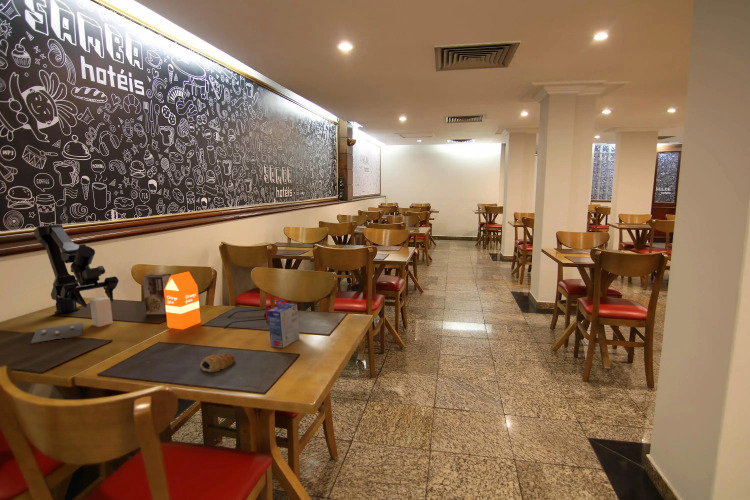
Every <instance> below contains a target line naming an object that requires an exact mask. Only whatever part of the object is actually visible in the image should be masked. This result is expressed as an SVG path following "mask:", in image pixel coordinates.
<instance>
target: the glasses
mask: <svg viewBox="0 0 750 500" xmlns="http://www.w3.org/2000/svg"><path fill="white" fill-rule="evenodd" d="M269 310H270V308H269V307H268V304H266V305H265V308H264V309H263V308H262V309H251V310H250V309H249V310H241V311H239V310H238V311H235V312H233V313H232V314H230V315H229V316H228V317H227V319H229V318H231V317H232V316H233V315H235V314H237V313H246V312H247V313H248V312H259V311H265V313H264V318H260V319H258V318H257V319H256V318H255V319H248V320H247V319H246V320H235V321H231V322H229V323H228V324H227V325H226V326H225V327H223V329H224V330H225V329H227V328H228V327H229V326H230V325H232V324H234V323H243V322H245V323H246V322H257V321H265V320H266V321H265V322H266V323H268V321H269V320H268V311H269Z"/></svg>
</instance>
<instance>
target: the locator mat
mask: <svg viewBox="0 0 750 500" xmlns="http://www.w3.org/2000/svg"><path fill="white" fill-rule="evenodd" d="M71 325H74V330H70V326H71ZM83 327H84V323H83V322H76V323H72V324H71V323H70V324H65V325H58V326H52V327H45V328H40V329H36V331H35V333H34V335H33V337H32V339H31V341H30V344H31V343H36V342H41V341H47V340H54V339H60V340H63V339H62V338H65V339H70V338H77V337H82V333H83ZM42 330H46V334H45V335H42ZM55 331H59V334H60V335H58V336H55ZM54 341H55V340H54ZM36 344H37V343H36Z"/></svg>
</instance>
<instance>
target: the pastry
mask: <svg viewBox="0 0 750 500" xmlns="http://www.w3.org/2000/svg"><path fill="white" fill-rule="evenodd" d="M234 362H235V356H234V355H232V354H231V353H218V354H211V355H209V356H206V357H205V358H203V359H202V360H201V362H200V364H199V367H200V368H201V370H202V371H204V372H209V373H216V372H219V371H221V370H224V369H226V368H229V366H231V365H232V364H233V363H234Z"/></svg>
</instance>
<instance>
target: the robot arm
mask: <svg viewBox="0 0 750 500" xmlns="http://www.w3.org/2000/svg"><path fill="white" fill-rule="evenodd" d="M33 235H34V237H35V238H36V240H37V241H38V243H40V245H42V246H43V247H44V248H45V250H46V254H47V257H48V259H49V263H50V266H51V268H52V271H53V274H54V280H53V283H52V289H51V292H50V297H51V299H52V300H54V301H55V309H56V310H55V311H54V314H64V315H65V314H69V313H70V314H71V313H73V312H77V311H79V310H81V309H80V308H79V307H78V306H77V305H78V304H79V305H80V306H82V307H84V308H85V309H86V308H87V307H88V305H87V302H86V300H85V299H84V297H83V296H82V293H81V292H84V291H90V290H95V289H101V288H103V290H104V293H105V294H106V296H107V298H110V303H111V302H113V301H114V293H113V291H114V290H115V289H117V287H118V284H119V281H120V280H119V278H118V277H117V276H110V277H105V278H104V281H101V282H98V281H100V277H101V276H102V275H104V274H106V269H105V267H104V266H103V265H98V266H96V267H92V268H91V267H90V265H91V264H92V262H93V260H94V257H95V254H96V251H95V249H94V248H92V247H90V246H87V245H86V244H85V243H84V244H77V243H74V242H73V241H72V239H71V238H70V237H69V235H68V234H67V232H66V231H65V230H64V227H63V225H62V224H59V223H53V224H47V225H40V226H39V225H38V226H36V228H35V229H33ZM66 264H71V265H70V272H71V273H73V274H71V273H69V272H68V268H67V266H66Z"/></svg>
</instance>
